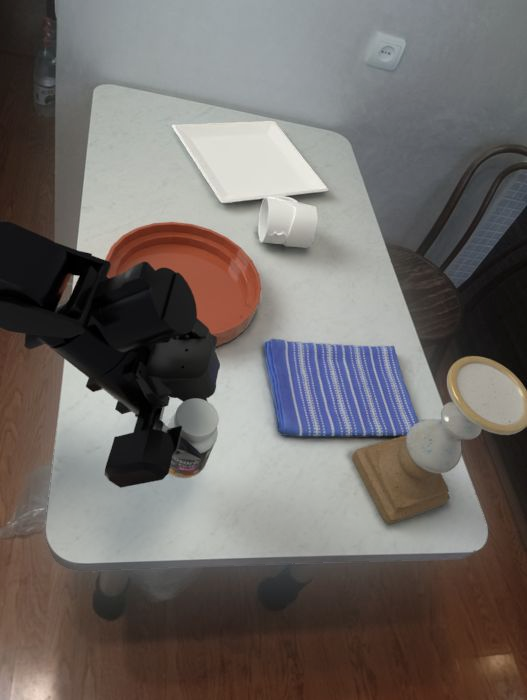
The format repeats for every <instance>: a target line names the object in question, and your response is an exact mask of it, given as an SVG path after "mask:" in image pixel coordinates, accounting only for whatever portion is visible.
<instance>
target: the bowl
mask: <svg viewBox="0 0 527 700" xmlns="http://www.w3.org/2000/svg"><path fill="white" fill-rule="evenodd" d="M104 260H106V261H108V262H110V263H111V268H110V270H109V273H108V275H107V277H108V278H112V277H114V276H117V275H119V274H121V273H124V272H126V271H128V270H129V269H130V268H132V267H133V266H135V265H137V264H139V263H141V262H144V261H145V262H148V263H149V264H150V265H151V266H152V267H153V268H154V270H156V269H159V268H165V267H166V268H169V269H171V270H173V271H174V272H176V273H177V272H179V273H180V274H181V275H182V276H183V278H184V279H185V280H186V282H187V283H188V285H189V287H190V289H191V291H192V293H193V296H194V299H195V303H196V308H197V318H198V319H199V320H200V321H201V322H202V323H203V324H204V325H206V326H207V327H208V328H209V331H210V333H211V335H214V336H216V337H217V343H216V347H219V346H221V345H224V344H226V343H229V342H230V341H232V340H234V339H236V338H237V337H238V336H240V335H241V334H242V333H243V332H244V331H245V330H247V328H248V327H249V325H250V324H251V322H252V320H253V319H254V317H255V315H256V312H257V308H258V307H259V304H260V300H261V295H262V289H263V288H262V282H261V277H260V273H259V270H258V269H257V267H256V265H255V263H254V262H253V261H254V260H252V259H251V257H250V256H249V255H248V254H247V253H246V252H245V250H244V249H243V248H242V247H241V246H240V245H238V244H236V242H234V241H233V240H231V239H230V238H228V237H227V236H225V235H223V234H221V233H219V232H217V231H215V230H213V229H210V228H208V227H204V226H200V225H196V224H193V223H186V222H177V221H166V222H165V221H164V222H154V223H150V224H145V225H142V226H138V227H135V228H134V229H131V230H130V231H128V232H126V233H124V234H123V235H122V236H121V237H119V239H117V240H116V241H115V242H114V244H112V245H111V247H110V249H109V250H108V253H107V255H106V257H105V259H104Z"/></svg>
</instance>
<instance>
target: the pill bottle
mask: <svg viewBox="0 0 527 700" xmlns="http://www.w3.org/2000/svg"><path fill="white" fill-rule="evenodd" d="M219 420H220V416H219V412H218V411H217V409H216V407H215V406H214V405H213V404H212V403H211V402H210V401H208V400H207V401H206V400H203V399H198V398H193V399H188V400H186V401H184V402H183V401H182V402H181V403H180V404H179V405H178V407H177V408H176V411H175V412H174V413H173V414H172V415H171V416H170V418H169V420H168V421H167V424H166V426H167V427H169V428H174V427H178V426H182V431H181V436H182V437H183V438H184V439H185V440H186V441H188V442H189V443H190V444H191V445H192V446H193V447H195V448H196V449H197V450H198V451H199V452H200V454H201V455H202V459H200V460H195V461H194V460H186V459H179V458H172V461H171V465H170V469H169V473H168V474H170V475H171V476H173V477H175V478H180V479H190V478H192V477H195V476H198V474H200V473H201V472H202V471H203V470H204V468H205V466H206V465H207V462H208V460H209V457H210V456H211V453H212V451H213V449H214V446H215V444H216V442H217V439H218V434H219V433H218V432H219V431H218V425H219Z"/></svg>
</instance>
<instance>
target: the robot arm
mask: <svg viewBox="0 0 527 700" xmlns="http://www.w3.org/2000/svg"><path fill="white" fill-rule="evenodd" d="M110 268H111V263H110V262H108V261H106V260H105V259H103V258H100V257H97V256H96V255H95V256H94V255H93V254H92V253H91V252H86V251H81V250H78V249H75V248H72V247H70V246H66V245H64V244H62V243H58V242H55V241H53V240H51V239H50V238H48V237H46V236H44V235H41V234H39V233H36V232H34V231H33V230H30V229H27V228H25V227H23V226H21V225H18V224H16V223H14V222H12V221H7V220H0V329H3V330H4V331H7V332H11V333H17V334H24V344H23V346H24V348H25V349H27V350H33V349H35V348H39V347H41V346H44V345H46V346H47V347H49V348H50V349H52V351H54V352H55V353H56V354H57V355H59V356H60V357H62V358H63V360H66V362H68V363H69V364H70V365H72V366H73V367H74V368H76V369H77V370H78V371H79V372H80V373H82V374H83V375H84V376H85V377H87V378H88V379H87V381H86V384H85V388H87V389H88V390H89V391H90V392H92V393H95V392H99V391H102V390H104V392H106V393H107V394H108V395H110V396H111V397H112V398H113V399H115V400H116V404H115V411H116V412H118V413H119V414H121V415H124V414H128V413H133V414H134V417H136V421H135V424H134V429H133V431H132V432H129V433H125V434H121V435H117V436H114V438H113V442H112V445H111V448H110V451H109V454H108V457H107V461H106V463H105V468H104V474H103V475H104V476H105V478H106V479H107V480H108V481H109V482H110V483H111V484H114V485H115V486H117V487H118V488H120V489H121V488H128V487H133V486H138V485H143V484H148V483H153V482H159V481H163V480H164V479H165V478H166V477H167V476H168V475H169V474H170V473H169V469H170V465H171V461H172V458H179V459H186V460H194V461H195V460H200V459H202V455H201V454H200V452H199V451H198V450H197V449H196V448H195V447H193V446H192V445H191V444H190V443H189V442H188V441H186V440H185V439H184V438H183V437H182V436H181V431H182V426H178V427H174V428H169V427H167V424H166V423H165V422H164V421H163V417H164V412H165V409H166V407H168V406H169V404H170V400H171V399H178V400H179V401H181V402H182V403H183V402H184V401H186V400H188V399H193V398H198V399H203V400H206V401H208V398H210V397H212V396H213V395H214V394H215V393H216V390H217V379H218V376H219V370H220V368H221V363H220V360H219V357H218V355H217V352H216V348H217V346H216V343H217V337H216V336H214V335H211V333H210V331H209V328H208V327H207V326H206V325H204V324H203V323H202V322H201V321H200V320H199V319H198V318H197V308H196V303H195V299H194V296H193V293H192V291H191V289H190V287H189V285H188V283H187V282H186V280H185V279H184V278H183V276H182V275H181V274H180V273H179V272H177V273H176V272H174V271H173V270H171V269H169V268H166V267H165V268H159V269H156V270H154V268H153V267H152V266H151V265H150V264H149V263H148V262H145V261H144V262H141V263H139V264H137V265H135V266H133V267H132V268H130V269H129V270H128V271H126V272H124V273H121V274H119V275H117V276H114V277H112V278H108V277H107V275H108V273H109V270H110ZM72 276H75V277H76V276H77V277H78V278H77V279H76V283H75V285H74V287H73V289H72V291H71V294H70V295H69V298H68V300H66V301H65V300H64V301H62V302H61V303H60V301H61V299H62V297H63V295H64V293H65V290H66V288H67V287H68V284H69V282H70V280H71V277H72Z"/></svg>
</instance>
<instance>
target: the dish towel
mask: <svg viewBox="0 0 527 700" xmlns="http://www.w3.org/2000/svg"><path fill="white" fill-rule="evenodd" d="M263 349H264V356H265V363H266V368H267V373H268V378H269V382H270V389H271V394H272V399H273V406H274V410H275V411H274V412H275V419H276V424H277V432H278V433H279V434H281V435H282V436H298V437H315V438H318V437H320V438H321V437H323V438H326V437H329V438H333V437H345V438H346V437H349V438H350V437H362V438H365V437H375V438H377V437H378V438H380V437H384V438H386V437H392V438H397V437H401V436H405V435H407V434H408V431H409V430H410V428H411V427H412V426H413V425H415V424H416V423H418V422H419V419H418V415H417V413H416V410H415V408H414V406H413V402H412V400H411V397H410V396H411V395H410V393H409V391H408V388H407V385H406V383H405V379H404V376H403V373H402V369H401V365H400V362H399V359H398V356H397V352H396V347H395V345H375V346H371V345H356V344H346V345H345V344H339V343H337V344H336V343H335V344H330V343H316V342H301V341H289V340H286V339H279V338H273V337H271V338H270V339H269V340H267V341H264V342H263Z"/></svg>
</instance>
